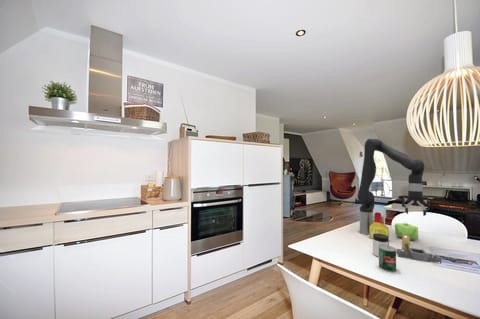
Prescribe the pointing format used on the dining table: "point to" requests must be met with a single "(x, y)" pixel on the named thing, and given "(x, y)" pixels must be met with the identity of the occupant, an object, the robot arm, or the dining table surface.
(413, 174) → the robot arm
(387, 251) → the canned tomato
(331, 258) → the dining table surface
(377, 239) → the jar
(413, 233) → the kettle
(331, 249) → the dining table surface
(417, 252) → the bolt keeper plate
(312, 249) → the dining table surface
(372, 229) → the bottle
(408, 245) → the pin
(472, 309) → the dining table surface
